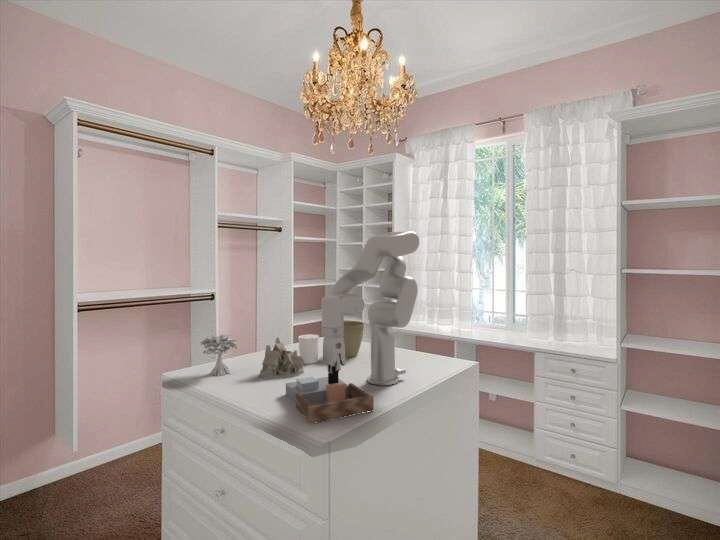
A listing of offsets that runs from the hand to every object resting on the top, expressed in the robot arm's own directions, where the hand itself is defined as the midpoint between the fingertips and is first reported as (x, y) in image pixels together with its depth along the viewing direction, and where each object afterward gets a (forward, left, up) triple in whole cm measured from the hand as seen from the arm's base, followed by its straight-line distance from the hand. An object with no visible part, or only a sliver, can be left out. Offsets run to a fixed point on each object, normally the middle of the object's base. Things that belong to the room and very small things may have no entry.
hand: (333, 384), depth 142 cm
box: (+4, +9, -5) cm, 11 cm away
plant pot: (-31, -53, -5) cm, 62 cm away
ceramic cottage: (+8, -38, -6) cm, 39 cm away
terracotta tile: (0, +2, -2) cm, 3 cm away
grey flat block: (+4, -5, -5) cm, 8 cm away
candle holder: (-9, -51, -5) cm, 52 cm away
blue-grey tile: (+8, -4, -1) cm, 9 cm away
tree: (+31, -51, -5) cm, 60 cm away
